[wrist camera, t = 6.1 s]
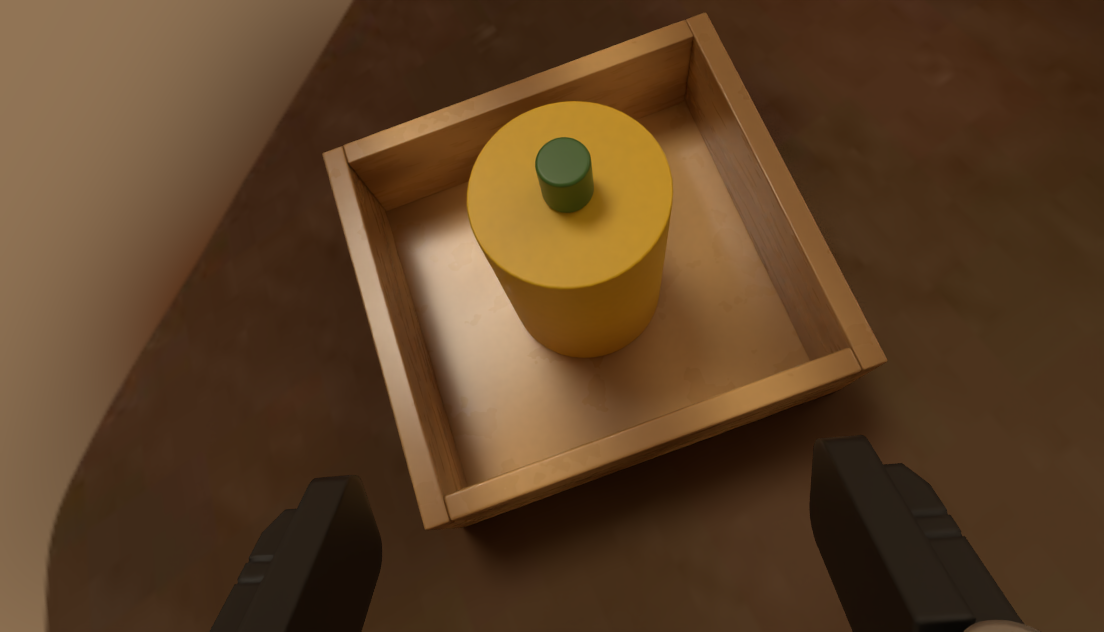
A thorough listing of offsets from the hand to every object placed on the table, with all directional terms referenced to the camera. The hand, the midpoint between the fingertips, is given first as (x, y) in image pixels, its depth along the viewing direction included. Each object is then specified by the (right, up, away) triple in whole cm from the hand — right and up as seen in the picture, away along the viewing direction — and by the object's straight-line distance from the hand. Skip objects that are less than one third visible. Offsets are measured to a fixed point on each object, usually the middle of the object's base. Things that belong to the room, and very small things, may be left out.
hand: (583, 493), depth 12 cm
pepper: (+1, +4, +14) cm, 14 cm away
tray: (+1, +4, +15) cm, 15 cm away
